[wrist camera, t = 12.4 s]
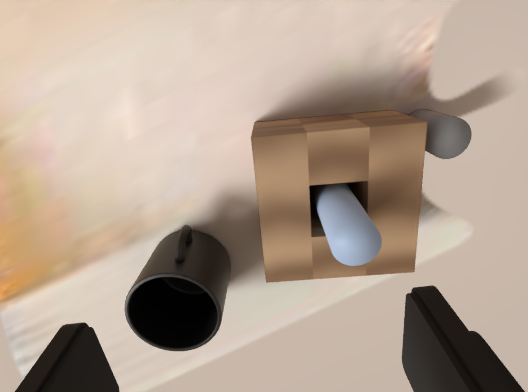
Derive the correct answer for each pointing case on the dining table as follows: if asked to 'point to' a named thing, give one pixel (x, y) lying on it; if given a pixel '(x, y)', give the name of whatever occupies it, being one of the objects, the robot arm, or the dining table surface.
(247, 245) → the dining table surface
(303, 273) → the hole block
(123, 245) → the dining table surface
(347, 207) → the tall pin
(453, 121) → the short pin
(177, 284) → the mug
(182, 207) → the dining table surface
